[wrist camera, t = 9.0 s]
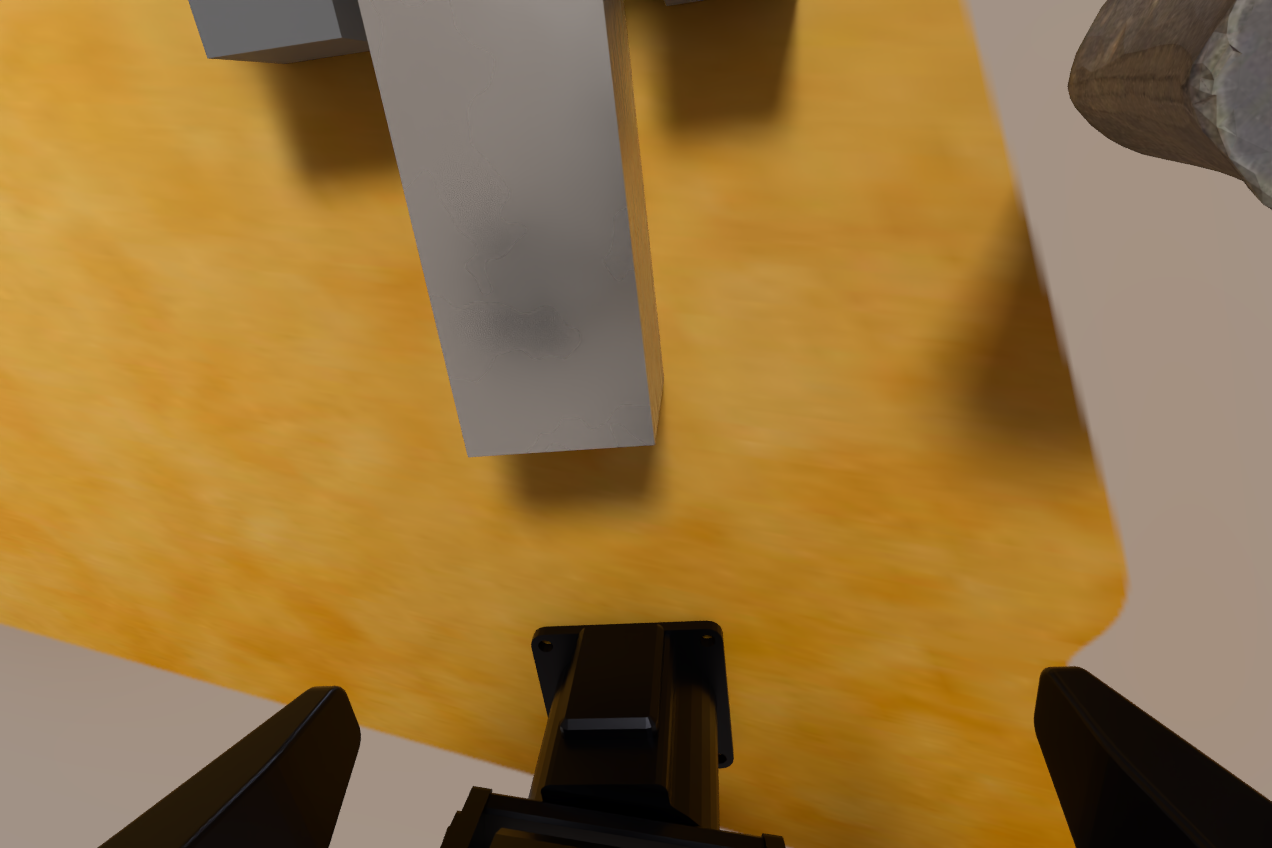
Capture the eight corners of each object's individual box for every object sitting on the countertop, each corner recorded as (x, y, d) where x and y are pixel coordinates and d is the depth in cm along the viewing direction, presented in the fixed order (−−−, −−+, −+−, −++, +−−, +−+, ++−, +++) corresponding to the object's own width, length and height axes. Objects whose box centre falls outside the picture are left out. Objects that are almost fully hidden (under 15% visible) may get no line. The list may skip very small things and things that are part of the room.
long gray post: (664, 374, 20) (654, 444, 16) (513, 386, 21) (467, 457, 17) (610, -138, 15) (576, -220, 11) (414, -104, 16) (316, -172, 12)
